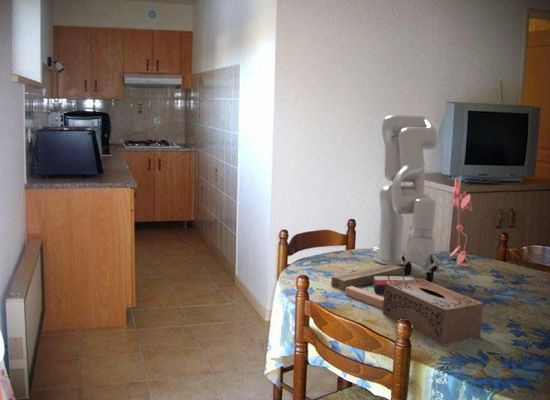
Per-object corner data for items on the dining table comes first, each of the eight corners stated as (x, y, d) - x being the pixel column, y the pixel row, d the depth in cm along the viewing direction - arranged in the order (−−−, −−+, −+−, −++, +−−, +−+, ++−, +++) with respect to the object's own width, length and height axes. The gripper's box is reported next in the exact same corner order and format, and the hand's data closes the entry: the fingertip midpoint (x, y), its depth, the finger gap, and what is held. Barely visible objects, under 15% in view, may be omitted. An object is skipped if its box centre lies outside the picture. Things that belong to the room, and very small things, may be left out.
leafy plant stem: (462, 254, 264) (467, 175, 258) (476, 271, 239) (482, 183, 233) (426, 253, 265) (430, 174, 259) (436, 270, 240) (442, 182, 234)
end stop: (345, 294, 204) (345, 287, 204) (351, 292, 206) (352, 285, 206) (381, 308, 192) (381, 300, 192) (387, 306, 194) (388, 298, 193)
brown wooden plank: (331, 284, 214) (331, 276, 214) (390, 271, 234) (391, 263, 234) (343, 289, 210) (343, 280, 209) (402, 275, 230) (403, 267, 229)
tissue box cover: (382, 314, 187) (385, 283, 186) (418, 308, 194) (420, 278, 193) (442, 345, 165) (445, 310, 163) (480, 336, 172) (483, 303, 170)
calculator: (372, 275, 217) (415, 275, 216) (372, 286, 218) (414, 286, 216) (375, 284, 206) (419, 284, 205) (375, 296, 207) (419, 296, 206)
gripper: (396, 228, 218) (392, 274, 221) (435, 239, 205) (431, 287, 208) (409, 226, 223) (405, 271, 226) (449, 236, 209) (444, 283, 213)
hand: (418, 278), depth 217 cm, fingers open, 9 cm apart
